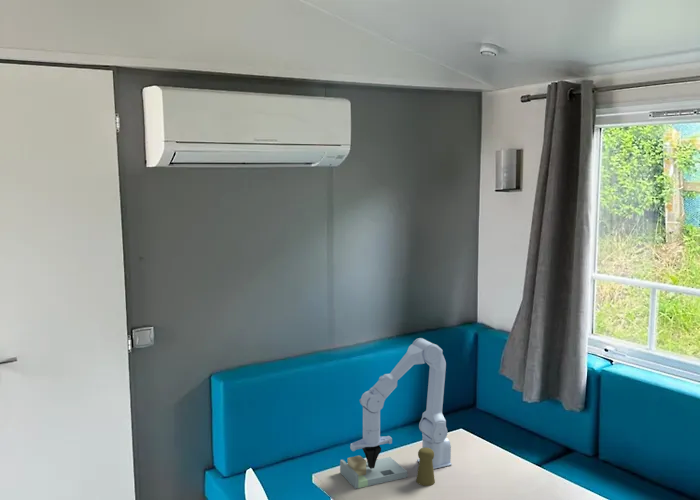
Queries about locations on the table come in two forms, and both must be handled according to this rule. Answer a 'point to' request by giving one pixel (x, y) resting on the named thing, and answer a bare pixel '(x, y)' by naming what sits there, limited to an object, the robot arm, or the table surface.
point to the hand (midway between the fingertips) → (371, 467)
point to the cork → (425, 467)
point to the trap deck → (374, 473)
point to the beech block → (358, 465)
